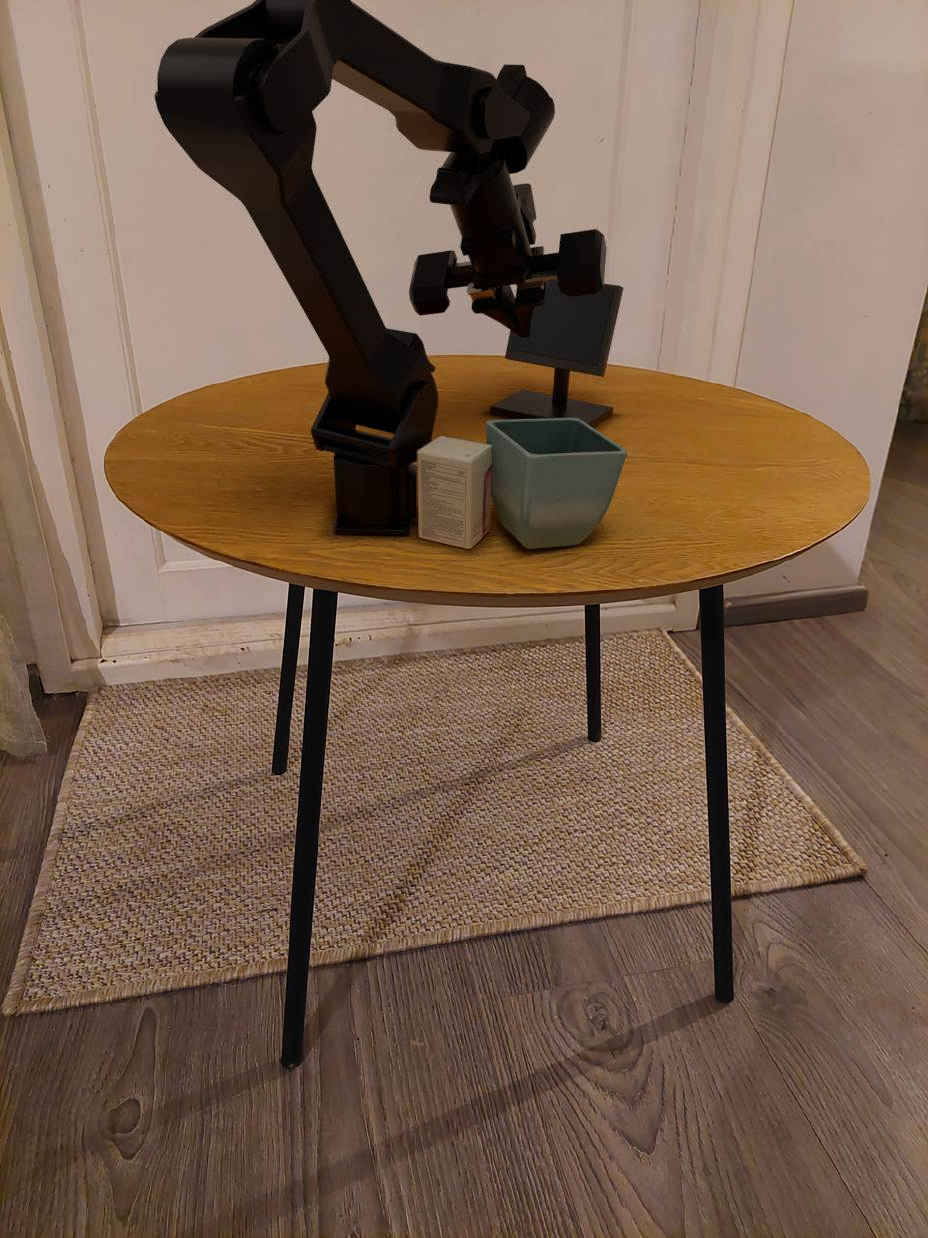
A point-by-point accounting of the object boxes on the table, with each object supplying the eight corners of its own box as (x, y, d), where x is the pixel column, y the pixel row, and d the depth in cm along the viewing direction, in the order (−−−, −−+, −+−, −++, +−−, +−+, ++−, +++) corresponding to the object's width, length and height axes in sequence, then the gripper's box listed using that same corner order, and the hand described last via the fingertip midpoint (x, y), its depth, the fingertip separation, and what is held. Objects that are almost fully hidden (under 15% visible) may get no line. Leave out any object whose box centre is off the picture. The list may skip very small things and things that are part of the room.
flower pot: (563, 512, 82) (578, 415, 78) (611, 554, 75) (630, 450, 71) (474, 519, 79) (484, 419, 75) (515, 564, 72) (529, 456, 68)
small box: (491, 531, 78) (495, 443, 74) (469, 551, 75) (472, 461, 71) (439, 519, 80) (440, 433, 76) (416, 538, 77) (415, 449, 72)
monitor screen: (600, 376, 99) (619, 285, 96) (503, 358, 104) (520, 271, 102) (604, 377, 100) (624, 287, 98) (508, 359, 105) (525, 273, 103)
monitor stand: (584, 434, 100) (590, 368, 96) (489, 414, 105) (492, 350, 101) (612, 415, 106) (619, 352, 102) (521, 396, 111) (525, 336, 107)
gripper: (596, 131, 81) (620, 264, 95) (403, 166, 87) (451, 287, 100) (587, 220, 77) (614, 347, 90) (384, 250, 82) (437, 366, 96)
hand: (526, 334), depth 94 cm, fingers closed
